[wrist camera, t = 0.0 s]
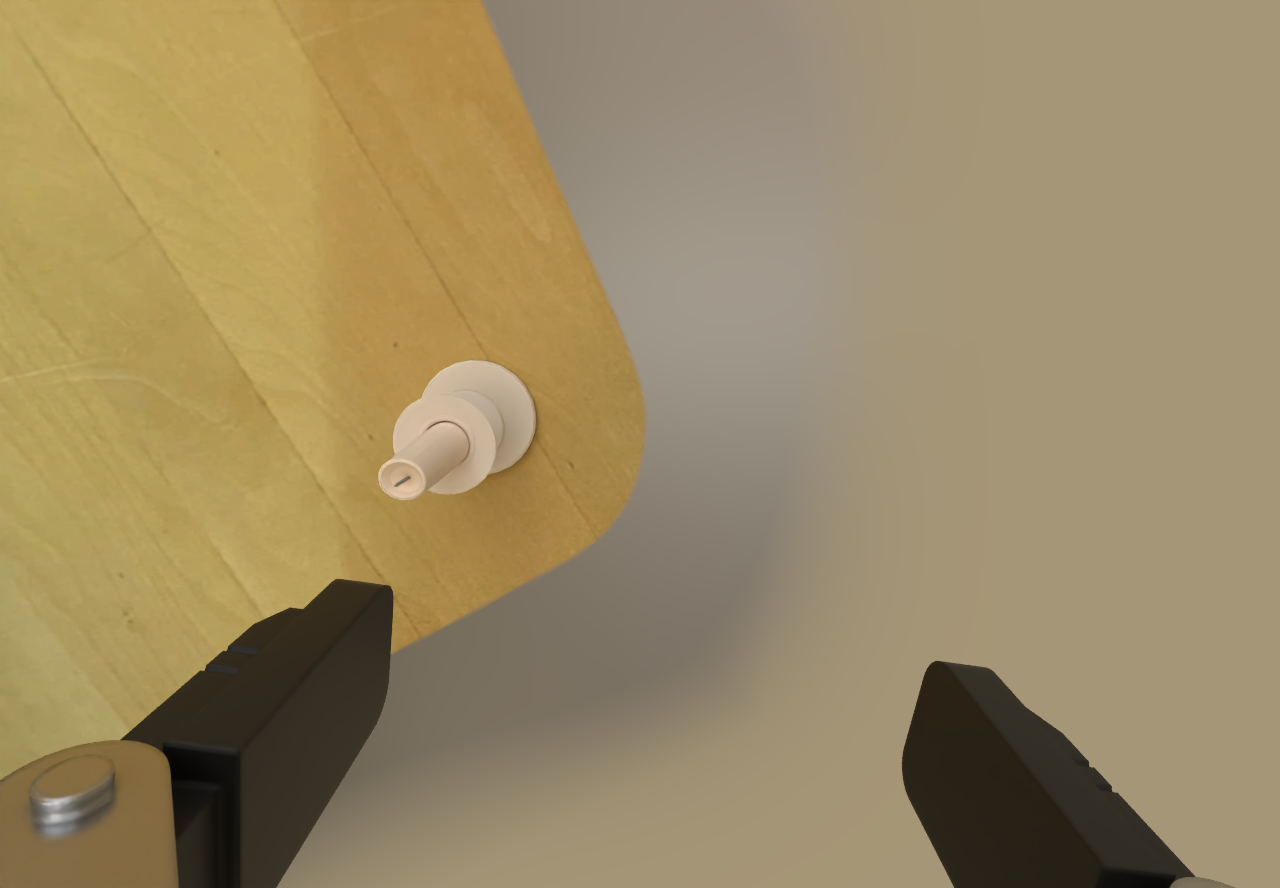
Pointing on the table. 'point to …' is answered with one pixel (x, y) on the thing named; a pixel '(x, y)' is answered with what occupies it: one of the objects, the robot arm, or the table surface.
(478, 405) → the candle
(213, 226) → the table surface
